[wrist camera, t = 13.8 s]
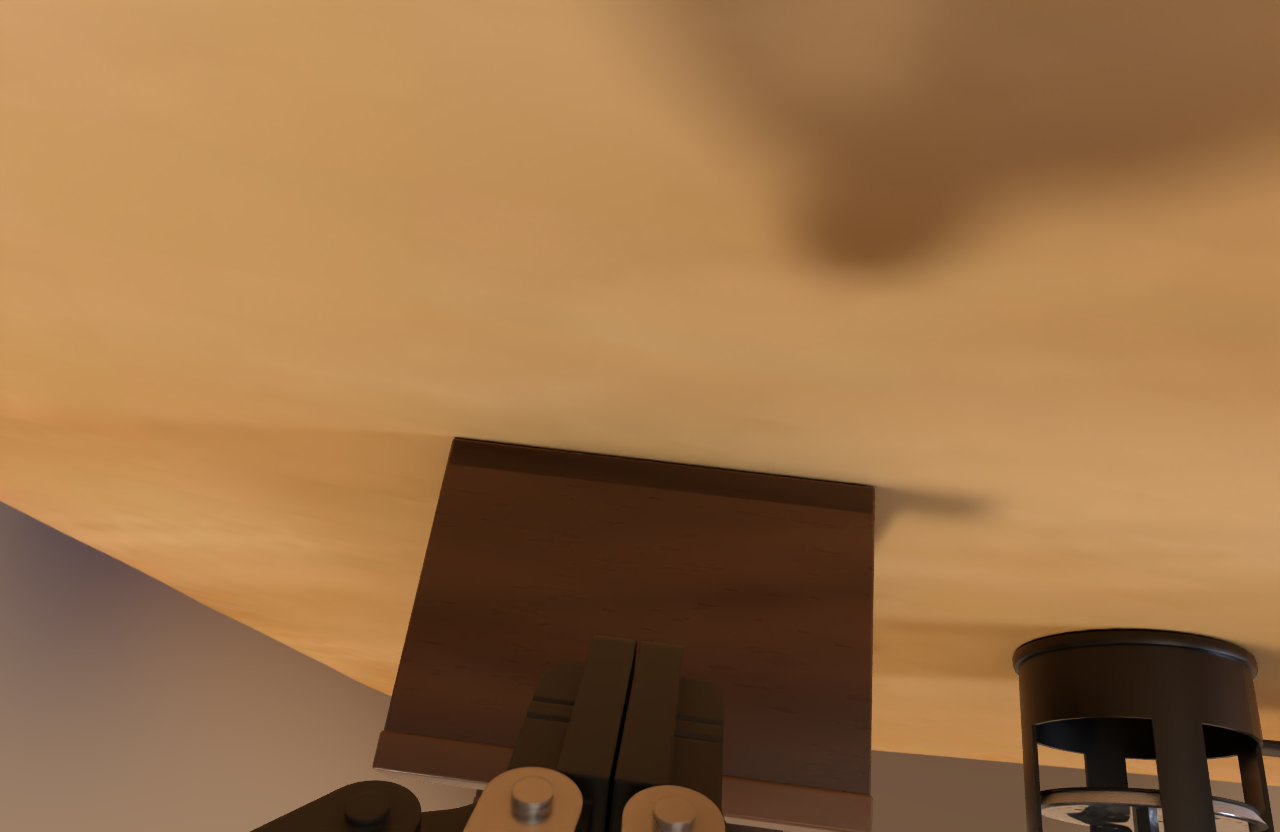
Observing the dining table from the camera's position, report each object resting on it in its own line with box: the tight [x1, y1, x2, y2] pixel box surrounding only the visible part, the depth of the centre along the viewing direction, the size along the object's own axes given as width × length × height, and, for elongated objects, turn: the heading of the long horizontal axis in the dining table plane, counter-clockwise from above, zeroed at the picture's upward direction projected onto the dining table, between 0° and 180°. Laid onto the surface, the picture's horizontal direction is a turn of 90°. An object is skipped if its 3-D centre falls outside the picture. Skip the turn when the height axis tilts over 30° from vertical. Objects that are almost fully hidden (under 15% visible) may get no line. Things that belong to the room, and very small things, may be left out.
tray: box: [373, 439, 875, 832], centre depth 35 cm, size 19×13×10 cm
